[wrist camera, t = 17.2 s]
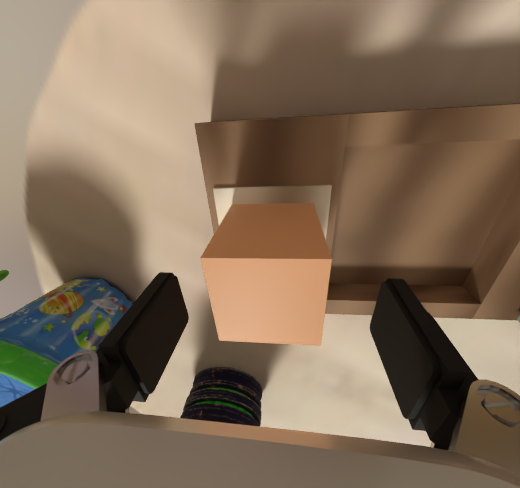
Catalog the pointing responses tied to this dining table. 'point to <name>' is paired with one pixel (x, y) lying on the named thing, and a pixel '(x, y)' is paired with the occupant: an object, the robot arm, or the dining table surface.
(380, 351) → the robot arm
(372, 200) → the board
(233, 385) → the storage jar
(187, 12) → the dining table surface
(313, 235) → the block
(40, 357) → the snack cup
